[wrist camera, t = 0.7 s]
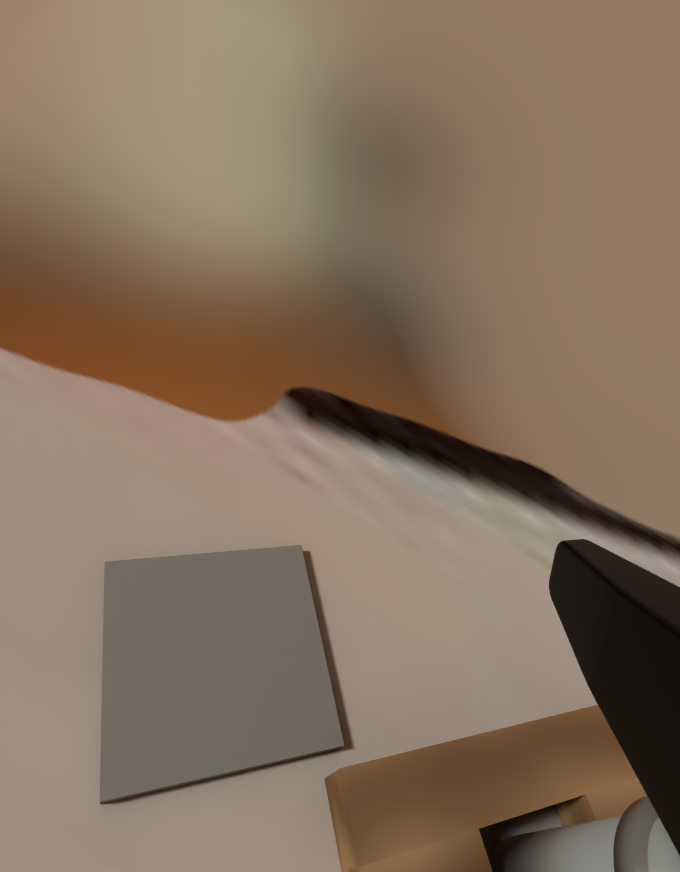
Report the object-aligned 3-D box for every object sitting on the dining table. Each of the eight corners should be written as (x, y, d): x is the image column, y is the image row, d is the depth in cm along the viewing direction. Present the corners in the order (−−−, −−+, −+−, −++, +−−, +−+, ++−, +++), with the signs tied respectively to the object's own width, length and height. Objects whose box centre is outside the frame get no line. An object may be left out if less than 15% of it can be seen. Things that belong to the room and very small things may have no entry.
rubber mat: (340, 748, 25) (344, 745, 24) (100, 804, 21) (99, 802, 21) (299, 550, 31) (301, 545, 30) (105, 567, 27) (104, 561, 27)
